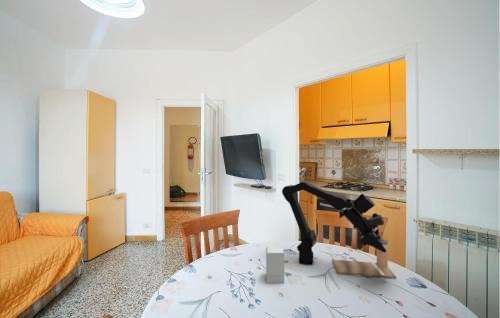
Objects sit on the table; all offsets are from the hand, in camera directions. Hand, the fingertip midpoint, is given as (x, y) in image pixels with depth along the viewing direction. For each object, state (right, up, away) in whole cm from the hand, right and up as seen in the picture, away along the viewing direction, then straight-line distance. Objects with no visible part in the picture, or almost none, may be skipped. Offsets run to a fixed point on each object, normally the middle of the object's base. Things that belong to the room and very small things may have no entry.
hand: (385, 250), depth 91 cm
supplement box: (-46, -14, +4) cm, 48 cm away
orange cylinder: (-1, -7, +1) cm, 7 cm away
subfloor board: (-5, -13, +10) cm, 18 cm away
